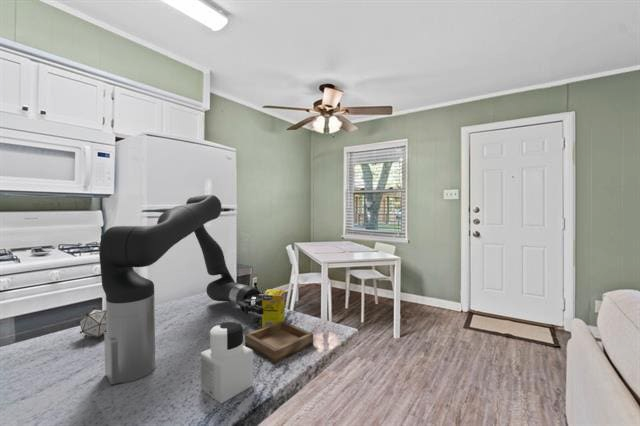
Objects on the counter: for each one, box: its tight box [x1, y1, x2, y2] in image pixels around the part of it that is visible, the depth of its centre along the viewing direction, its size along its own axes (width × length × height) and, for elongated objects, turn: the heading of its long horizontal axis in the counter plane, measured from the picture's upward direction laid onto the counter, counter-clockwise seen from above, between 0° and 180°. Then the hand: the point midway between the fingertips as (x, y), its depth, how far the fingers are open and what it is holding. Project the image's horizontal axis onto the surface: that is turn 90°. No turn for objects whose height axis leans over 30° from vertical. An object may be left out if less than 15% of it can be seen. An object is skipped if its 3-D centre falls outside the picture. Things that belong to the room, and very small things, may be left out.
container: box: [200, 321, 254, 404], centre depth 61 cm, size 8×8×13 cm
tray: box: [244, 321, 314, 364], centre depth 79 cm, size 13×13×3 cm
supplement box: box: [261, 288, 286, 329], centre depth 91 cm, size 6×6×11 cm
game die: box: [76, 307, 107, 340], centre depth 85 cm, size 9×8×10 cm
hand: (273, 307), depth 91 cm, fingers open, 8 cm apart
